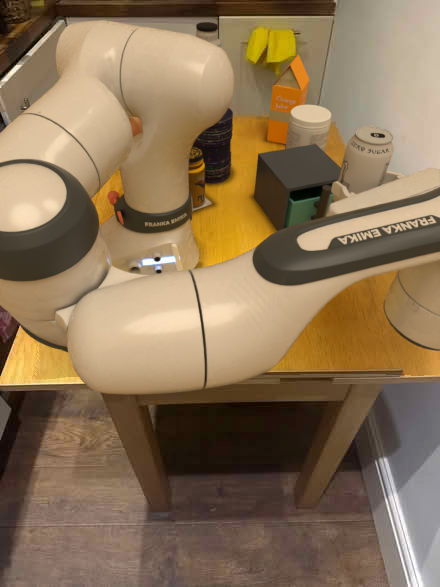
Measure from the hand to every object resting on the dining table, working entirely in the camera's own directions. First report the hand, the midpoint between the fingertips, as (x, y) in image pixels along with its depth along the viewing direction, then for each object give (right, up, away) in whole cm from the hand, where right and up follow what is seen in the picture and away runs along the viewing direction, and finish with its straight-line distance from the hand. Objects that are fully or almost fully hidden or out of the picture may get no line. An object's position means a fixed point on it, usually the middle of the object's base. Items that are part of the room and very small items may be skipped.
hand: (355, 178), depth 59 cm
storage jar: (-22, +13, +43) cm, 50 cm away
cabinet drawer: (-2, +1, +31) cm, 31 cm away
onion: (-42, +21, +49) cm, 68 cm away
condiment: (-27, +4, +34) cm, 44 cm away
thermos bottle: (-23, +25, +53) cm, 63 cm away
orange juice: (-1, +28, +57) cm, 63 cm away
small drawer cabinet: (-3, +3, +33) cm, 34 cm away
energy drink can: (0, -6, +5) cm, 8 cm away
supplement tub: (+1, +14, +44) cm, 47 cm away
